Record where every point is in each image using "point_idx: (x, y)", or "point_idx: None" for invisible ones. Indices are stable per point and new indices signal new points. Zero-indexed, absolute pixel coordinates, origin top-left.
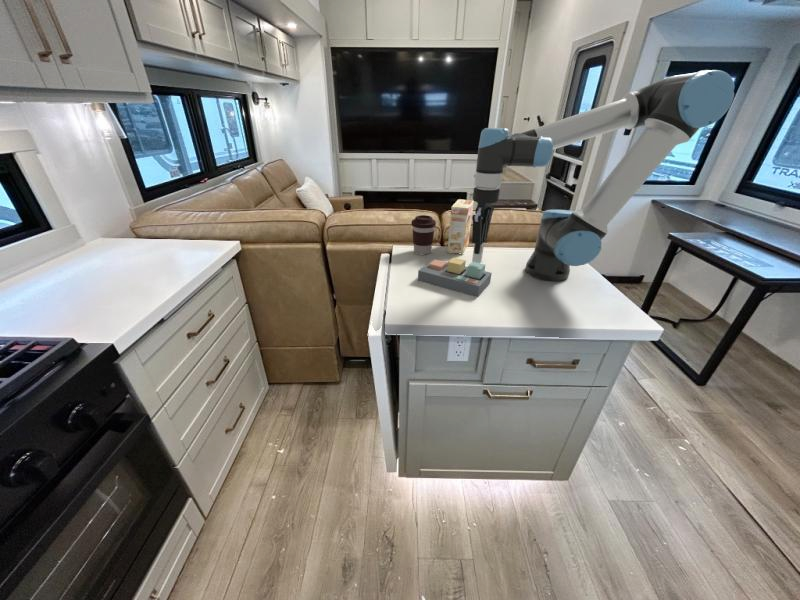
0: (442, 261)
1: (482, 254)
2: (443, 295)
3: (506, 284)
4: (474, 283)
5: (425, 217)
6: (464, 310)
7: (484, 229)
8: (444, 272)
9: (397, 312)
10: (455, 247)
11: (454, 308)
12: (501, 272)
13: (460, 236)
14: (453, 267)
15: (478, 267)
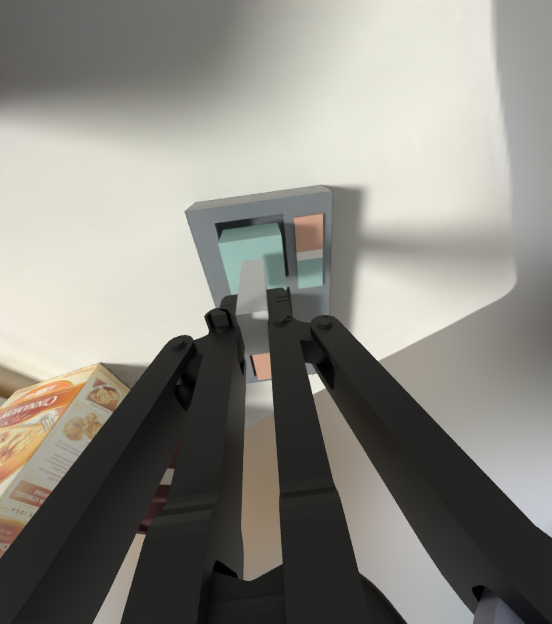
0: (255, 364)
1: (240, 277)
2: (360, 273)
3: (148, 138)
4: (321, 218)
5: (141, 524)
6: (421, 177)
7: (231, 408)
8: None
9: (475, 302)
10: (107, 393)
11: (419, 210)
12: (75, 210)
13: (74, 421)
14: None
15: (268, 252)
